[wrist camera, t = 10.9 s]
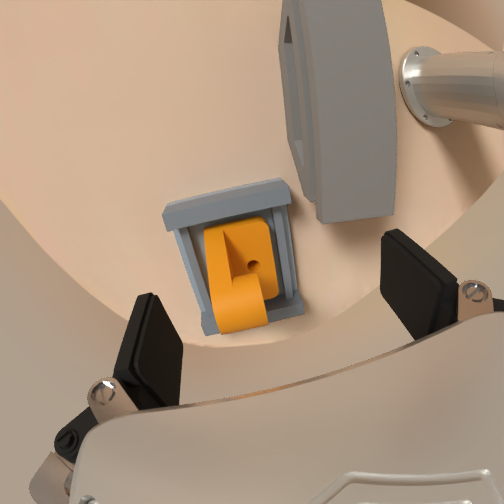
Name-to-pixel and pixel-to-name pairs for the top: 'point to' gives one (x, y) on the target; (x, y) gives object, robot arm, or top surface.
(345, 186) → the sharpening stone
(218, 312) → the bracket
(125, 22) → the top surface
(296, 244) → the top surface
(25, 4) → the top surface
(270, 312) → the grey tray
